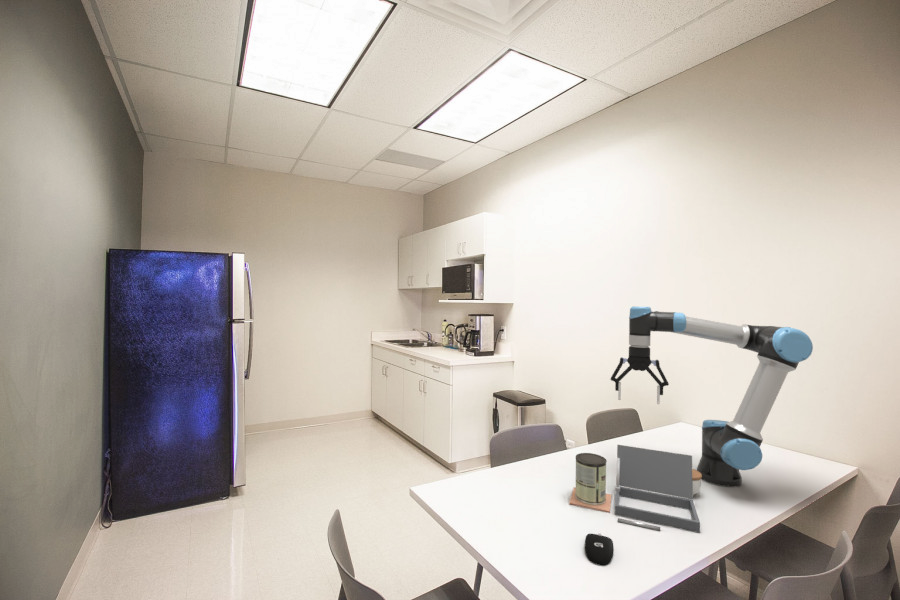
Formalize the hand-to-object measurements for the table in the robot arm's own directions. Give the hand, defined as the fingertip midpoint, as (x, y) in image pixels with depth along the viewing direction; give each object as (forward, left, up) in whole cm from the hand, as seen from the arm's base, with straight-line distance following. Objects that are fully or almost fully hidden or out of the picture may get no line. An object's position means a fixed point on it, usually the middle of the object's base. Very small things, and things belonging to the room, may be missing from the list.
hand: (638, 401), depth 157 cm
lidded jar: (-16, 0, -32) cm, 36 cm away
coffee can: (+15, +22, -31) cm, 41 cm away
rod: (0, +33, -32) cm, 46 cm away
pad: (+15, +22, -32) cm, 41 cm away
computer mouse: (+10, +53, -32) cm, 63 cm away
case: (-5, +19, -32) cm, 37 cm away
